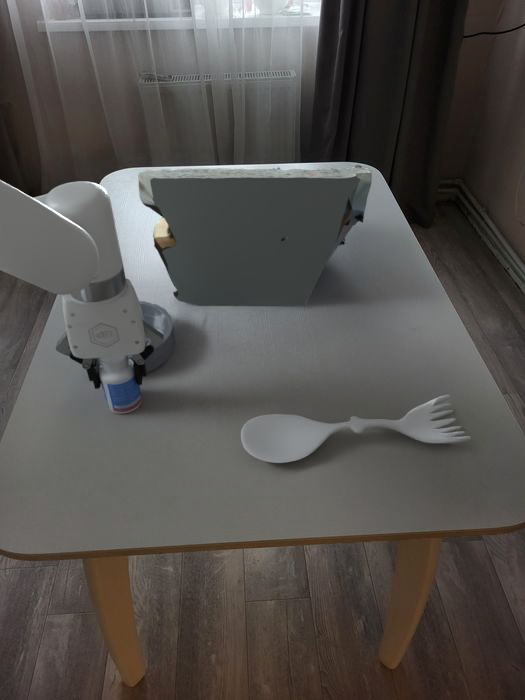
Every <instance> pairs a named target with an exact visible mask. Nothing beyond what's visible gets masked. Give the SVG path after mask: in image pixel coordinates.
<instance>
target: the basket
mask: <svg viewBox="0 0 525 700" xmlns="http://www.w3.org/2000/svg"><path fill="white" fill-rule="evenodd" d="M372 174H373V173H372V168H370V167H363V166H362V165H359V164H357V165H355V166H354V167H347V168H332V167H331V168H322V169H320V168H317V169H304V168H289V169H288V168H287V169H283V168H280V167H279V166H278V167H277V168H244V167H243V168H233V167H231V168H230V167H223V168H221V167H214V168H212V167H211V168H209V167H207V168H203V167H202V168H201V167H200V168H191V167H190V168H186V167H185V168H162V169H144V170H141V171H139V172H138V174H137V179H138V195H139V199H140V201H141V204H143V205H144V207H146V208H149V209H151V210H152V211H153V212H155V213H156V214H158V215H159V216H160V217H161V218H160V219H158V221H157V222H156V224H155V225H154V228H153V231H152V232H153V234H152V237H153V243H154V244H153V247H154V249H155V250H157V253H158V255H159V257H160V259H161V261H162V263H163V265H164V267H165V270H166V273H167V274H168V277H169V279H170V281H171V284H172V285H173V286H174V288H175V289H176V290H175V291H173V292H172V294H173V296H174V298H175V299H176V300H177V301H178V302H182V303H188V304H190V305H195V306H201V307H203V306H205V307H208V306H211V307H213V306H214V307H215V306H218V307H222V306H223V307H224V306H226V307H306V306H307V303H308V301H309V299H310V297H311V295H312V292H313V290H314V289H315V286H316V285H317V283H318V280H319V279H320V276H321V274H322V272H323V271H324V268H325V266H326V264H327V262H328V261H329V260H330V259H331V257H332V256H333V254H334V253H335V252H336V250H337V249H338V248H339V246H342V245H343V246H344V245H345V244H346V242H345V241H346V239H345V238H346V236H347V235H348V233H349V232H350V231H351V229H352V228H353V227H354V226H355V225H356V224H357V223H358V222H360V223H362V224H363V223H364V218H365V211H366V207H367V203H368V197H369V194H370V192H371V191H370V190H371V187H372V182H373V181H372V180H373V179H372V178H373V175H372Z"/></svg>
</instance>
